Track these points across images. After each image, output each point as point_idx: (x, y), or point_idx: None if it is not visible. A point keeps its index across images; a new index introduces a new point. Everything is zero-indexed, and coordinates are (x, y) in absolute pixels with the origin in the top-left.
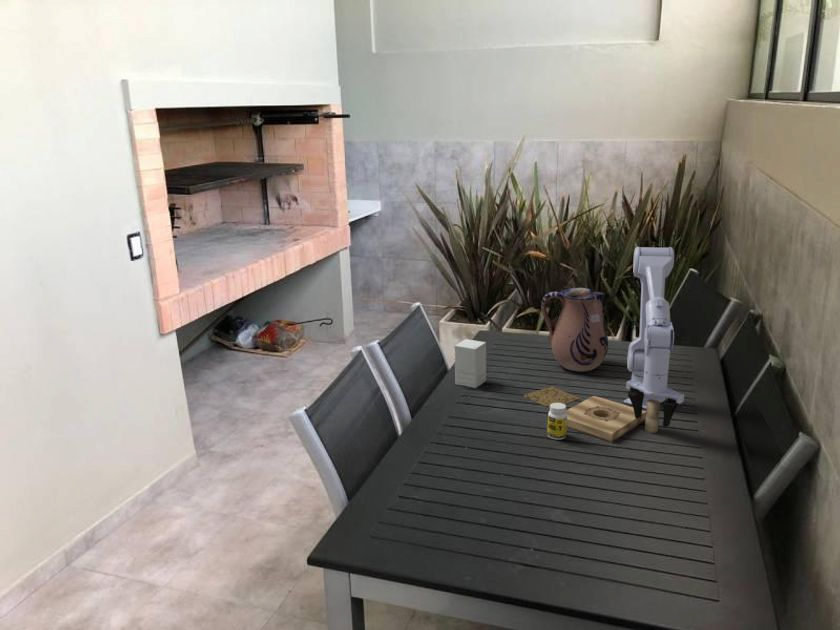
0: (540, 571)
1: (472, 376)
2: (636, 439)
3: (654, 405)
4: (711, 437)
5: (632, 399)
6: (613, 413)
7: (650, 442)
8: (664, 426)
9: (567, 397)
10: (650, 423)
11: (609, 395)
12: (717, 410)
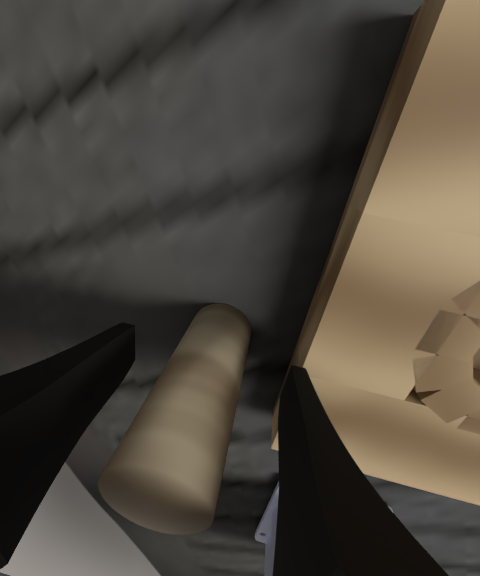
0: None
1: None
2: (254, 192)
3: (127, 453)
4: (26, 359)
5: (363, 512)
6: (455, 383)
7: (176, 196)
8: (124, 324)
9: None
10: (204, 333)
11: (457, 540)
12: None
